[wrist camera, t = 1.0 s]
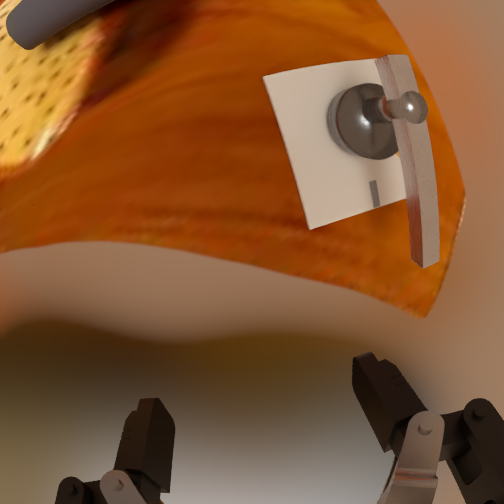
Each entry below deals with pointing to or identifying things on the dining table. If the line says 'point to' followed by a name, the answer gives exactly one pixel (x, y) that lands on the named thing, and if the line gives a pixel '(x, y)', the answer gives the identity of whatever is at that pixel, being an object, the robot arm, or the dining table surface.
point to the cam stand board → (329, 144)
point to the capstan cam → (394, 143)
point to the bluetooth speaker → (46, 18)
